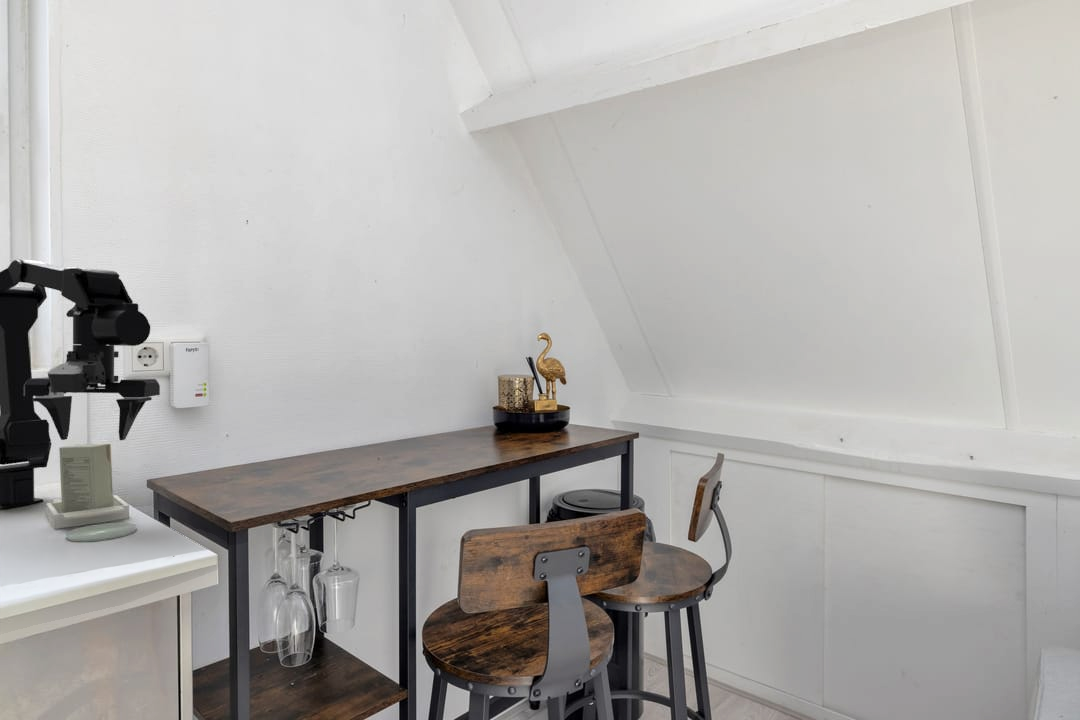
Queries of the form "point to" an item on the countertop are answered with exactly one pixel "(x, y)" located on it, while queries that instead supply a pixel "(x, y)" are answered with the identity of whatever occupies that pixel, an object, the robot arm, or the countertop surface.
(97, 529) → the coaster
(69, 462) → the skincare box
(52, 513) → the white rectangular tray
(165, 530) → the countertop surface
